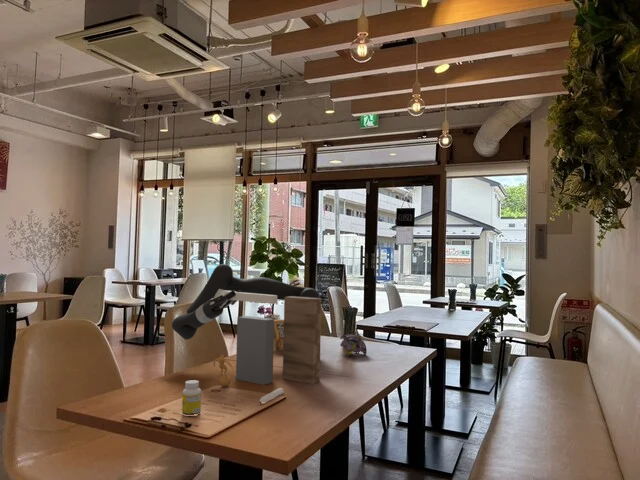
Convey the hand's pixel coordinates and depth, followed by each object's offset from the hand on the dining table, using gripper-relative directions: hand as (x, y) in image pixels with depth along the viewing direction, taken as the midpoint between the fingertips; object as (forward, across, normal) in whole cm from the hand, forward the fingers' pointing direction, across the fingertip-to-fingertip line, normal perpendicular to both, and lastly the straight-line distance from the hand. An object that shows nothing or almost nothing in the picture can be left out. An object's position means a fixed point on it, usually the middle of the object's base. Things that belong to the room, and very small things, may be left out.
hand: (237, 292), depth 193 cm
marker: (+9, -16, +44) cm, 48 cm away
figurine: (-11, -14, +32) cm, 37 cm away
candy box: (-33, +55, +19) cm, 67 cm away
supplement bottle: (0, -42, +39) cm, 57 cm away
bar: (+4, 0, +6) cm, 7 cm away
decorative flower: (0, +66, +38) cm, 76 cm away
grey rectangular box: (-8, 0, +34) cm, 35 cm away
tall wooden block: (+4, +12, +40) cm, 42 cm away
